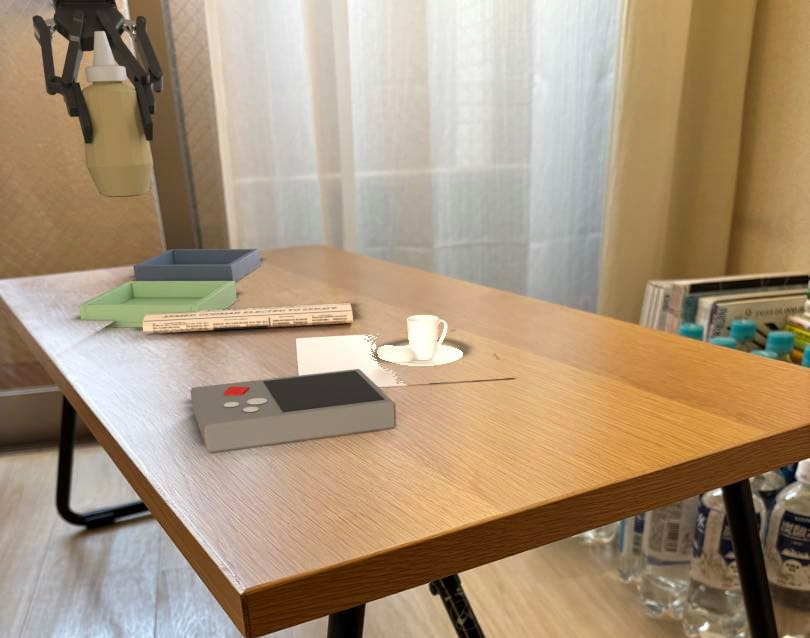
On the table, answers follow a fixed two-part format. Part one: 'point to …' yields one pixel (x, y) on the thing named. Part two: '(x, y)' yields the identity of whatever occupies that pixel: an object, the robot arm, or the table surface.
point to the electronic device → (290, 409)
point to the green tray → (157, 300)
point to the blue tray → (198, 265)
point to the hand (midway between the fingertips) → (118, 133)
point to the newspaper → (247, 318)
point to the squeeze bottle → (114, 128)
